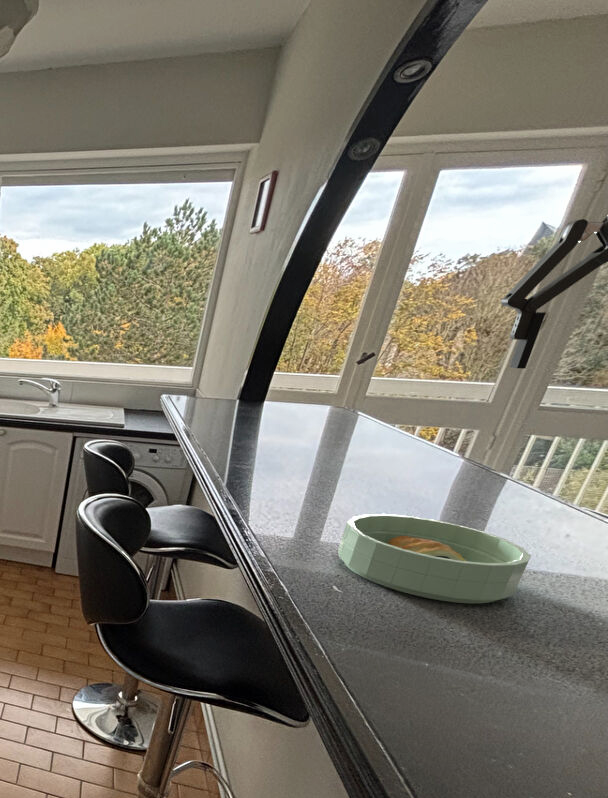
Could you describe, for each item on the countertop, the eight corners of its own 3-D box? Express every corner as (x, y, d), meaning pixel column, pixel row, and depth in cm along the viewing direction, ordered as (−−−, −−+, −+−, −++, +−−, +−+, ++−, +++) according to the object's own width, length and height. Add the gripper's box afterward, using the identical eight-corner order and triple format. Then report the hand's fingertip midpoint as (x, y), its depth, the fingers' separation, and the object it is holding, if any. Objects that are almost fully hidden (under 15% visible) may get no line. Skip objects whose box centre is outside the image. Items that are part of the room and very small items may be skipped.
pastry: (367, 548, 78) (377, 521, 76) (429, 555, 76) (440, 527, 74) (401, 577, 69) (412, 547, 68) (471, 586, 67) (484, 555, 66)
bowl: (488, 566, 75) (504, 529, 73) (533, 621, 62) (554, 578, 60) (331, 540, 82) (342, 506, 81) (342, 583, 70) (354, 545, 68)
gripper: (839, 156, 60) (733, 370, 68) (508, 184, 72) (450, 363, 80) (903, 139, 54) (780, 376, 62) (531, 173, 66) (466, 368, 74)
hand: (594, 369), depth 71 cm, fingers open, 13 cm apart
